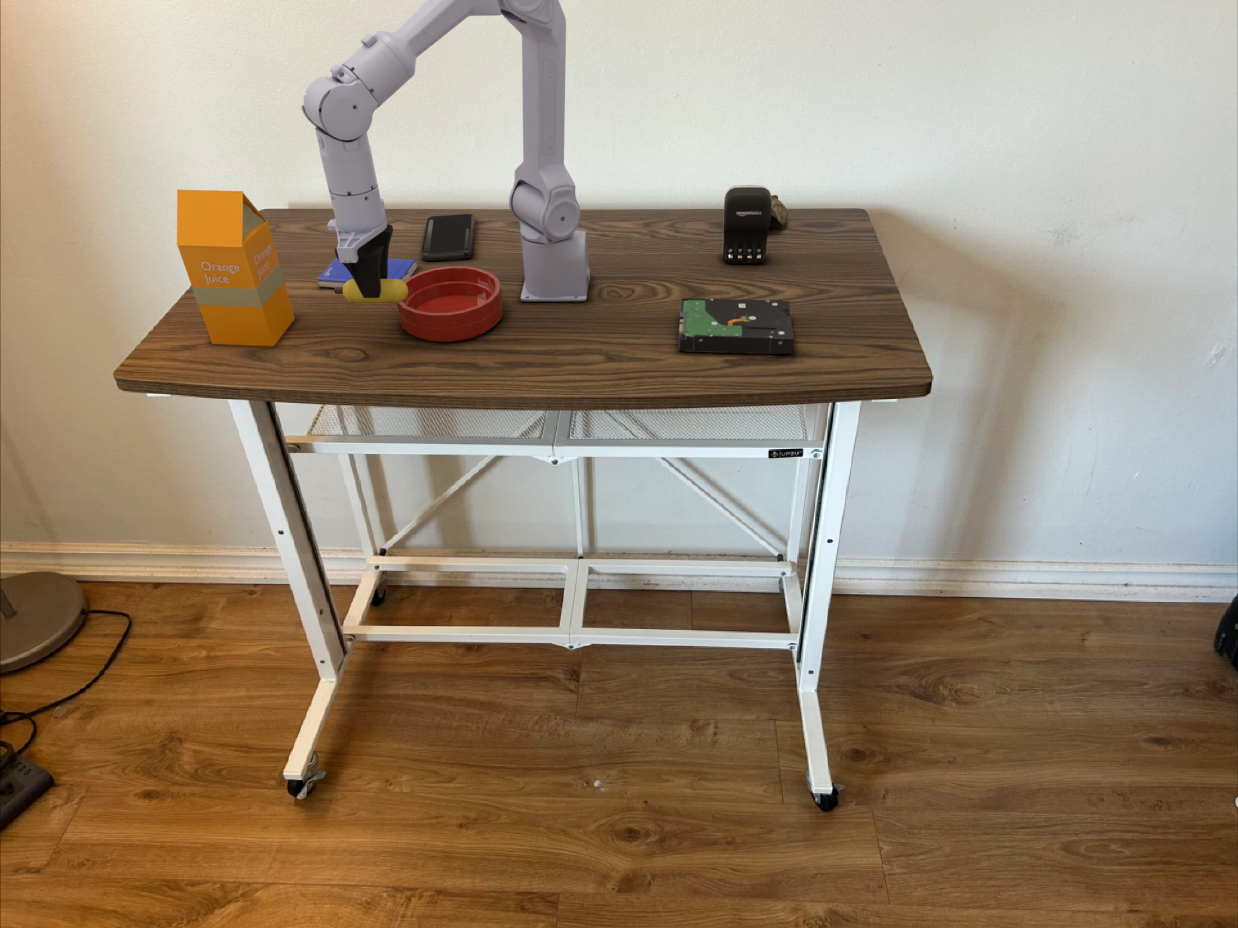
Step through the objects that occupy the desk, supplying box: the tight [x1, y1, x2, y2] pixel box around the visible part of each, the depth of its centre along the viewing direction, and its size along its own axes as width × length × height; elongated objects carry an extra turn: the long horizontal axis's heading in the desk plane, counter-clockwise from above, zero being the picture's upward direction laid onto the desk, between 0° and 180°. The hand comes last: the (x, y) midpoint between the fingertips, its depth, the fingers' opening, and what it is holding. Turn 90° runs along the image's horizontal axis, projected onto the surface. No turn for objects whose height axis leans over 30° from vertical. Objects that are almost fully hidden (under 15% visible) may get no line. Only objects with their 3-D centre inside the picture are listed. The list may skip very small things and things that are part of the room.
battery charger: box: [721, 184, 772, 265], centre depth 133 cm, size 7×4×11 cm, turn 87°
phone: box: [420, 213, 476, 262], centre depth 144 cm, size 8×1×15 cm
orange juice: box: [176, 189, 296, 347], centre depth 117 cm, size 8×9×20 cm
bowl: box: [396, 265, 504, 343], centre depth 123 cm, size 14×14×4 cm
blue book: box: [317, 257, 418, 288], centre depth 134 cm, size 2×8×12 cm
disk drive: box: [678, 297, 795, 355], centre depth 119 cm, size 10×3×15 cm
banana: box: [333, 279, 408, 304], centre depth 114 cm, size 9×3×3 cm, turn 88°
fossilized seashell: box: [769, 194, 789, 228], centre depth 145 cm, size 8×7×10 cm
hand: (375, 289), depth 114 cm, fingers closed on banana, 3 cm apart
